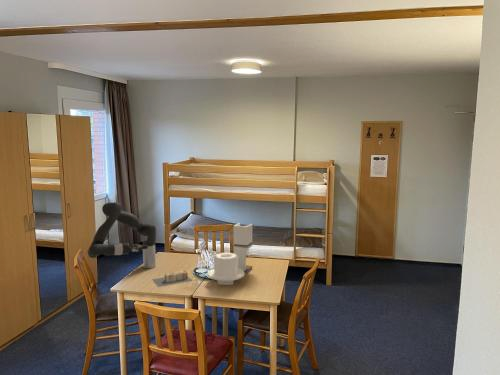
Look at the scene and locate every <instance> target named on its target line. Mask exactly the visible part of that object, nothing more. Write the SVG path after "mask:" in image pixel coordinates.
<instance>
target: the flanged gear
mask: <svg viewBox="0 0 500 375" xmlns="http://www.w3.org/2000/svg"><path fill="white" fill-rule="evenodd" d="M244 276H245V273H244V271H243V270H242V269H239V268H238V256H237V255H236V254H234V252H221V253H220V252H219V253H217V254H216V255H214V256H213V268H212V269H210V270H209V271H207V277H208V278H209V279H211V280H215V281H217V284H218V285H220V286H221V285H222V286H223V285H225V286H232V285H234V281H237V280H240V279H242V278H243V277H244Z"/></svg>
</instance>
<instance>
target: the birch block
mask: <svg viewBox="0 0 500 375" xmlns="http://www.w3.org/2000/svg"><path fill="white" fill-rule="evenodd" d="M164 277H165V281H166V282H171V281H177V280H183V279H188V277H189V275H188V272H187V271H186V270H181V271H175V272H168V273H165V274H164Z"/></svg>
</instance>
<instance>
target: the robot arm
mask: <svg viewBox="0 0 500 375" xmlns="http://www.w3.org/2000/svg"><path fill="white" fill-rule="evenodd" d="M122 209H123V208H122V205H121V203H119V202H116V201H115V202H107V203H106V202H105V203H104V204H103V206H102V209H101V210H102V213H103V215H104V216H106V217H107V219H106V220H105V221H104V222H103V223H102V224H101V225H99V227H98V228H97V231H96V233H95V234H94V237H93V240H92V242H91V244H90V245H89V247H88V250H87V256H88V257H89V258H92V259H96V258H97V257H98V256H99V255H104V256H123V255H129V254H130V252H131V253H134V252H135V253H139V252H142V261H143V262H142V265H143V266H142V267H143V269H154V268H155V267H156V241H157V236H156V235H157V227H156V225H154V224H150V223H149V224H148V223H143V222H141V221H140V219H139V218H138V216H137V215H135V214H133V213H131V212H129V211H125V210H122ZM116 221H118V222H119V223H121V224H122V225H124V226H126V227H128V228H130V229H132V230H133V231H134V230H135V231H136V232H137V233H139V235H142V236H144V237H147V239H146V240H143V241H142V245H141V244H139V243H131V244H129V242H119V243H117V242H116V243H110V244H104V243H105V242H106V239H107V237H108V235H109V232H110V230H111V229H112V227H113V226H114V224H115V223H116Z"/></svg>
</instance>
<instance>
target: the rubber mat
mask: <svg viewBox="0 0 500 375" xmlns="http://www.w3.org/2000/svg"><path fill="white" fill-rule="evenodd" d="M152 282H153V283H154V284H155V285H156V286H157V287H158V288H160V287H167V286H171V285H177V284H182V283H183V284H184V283H187V282H188V283H190V282H193V280H192V279H191V278H190V277H189V276H188V279H183V280H177V281H171V282H166V281H165V276H164V277H159V278H152Z"/></svg>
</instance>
